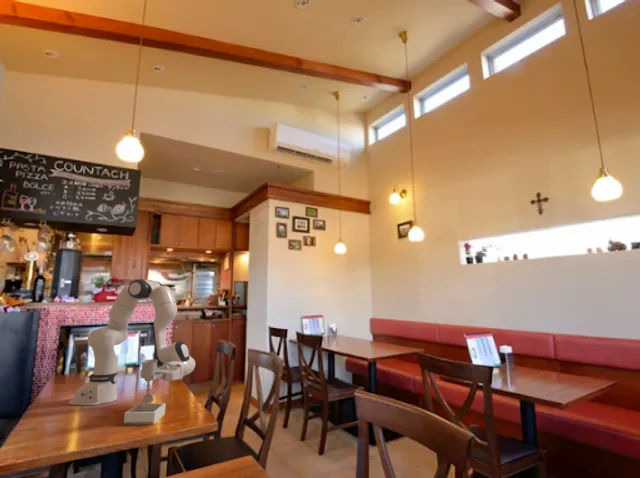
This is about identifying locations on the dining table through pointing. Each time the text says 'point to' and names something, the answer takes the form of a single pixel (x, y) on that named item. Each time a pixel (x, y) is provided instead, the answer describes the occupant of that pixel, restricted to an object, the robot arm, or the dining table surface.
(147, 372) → the chalice
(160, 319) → the robot arm
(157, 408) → the walled box
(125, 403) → the dining table surface
